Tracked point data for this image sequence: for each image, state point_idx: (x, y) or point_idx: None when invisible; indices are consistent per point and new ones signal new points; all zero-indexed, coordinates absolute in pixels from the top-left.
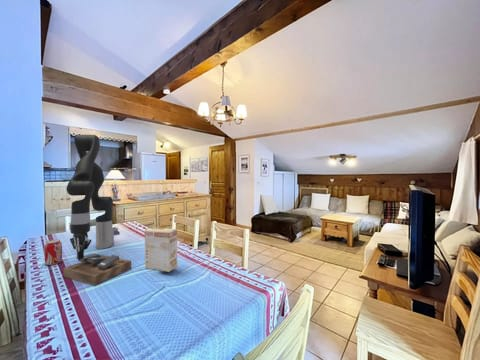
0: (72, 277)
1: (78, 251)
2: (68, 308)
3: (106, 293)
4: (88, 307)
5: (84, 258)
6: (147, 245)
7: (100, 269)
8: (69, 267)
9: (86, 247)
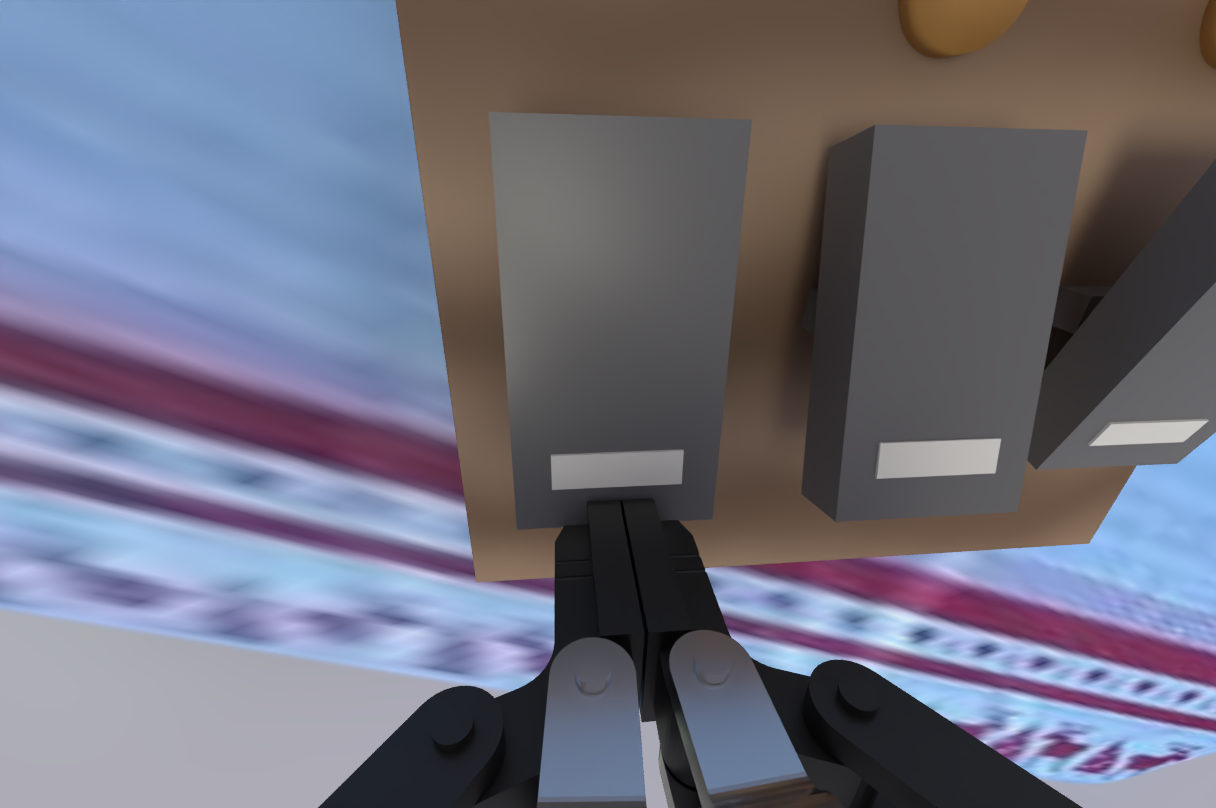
0: None
1: (650, 715)
2: (1024, 665)
3: (1183, 503)
4: (1144, 621)
5: (708, 505)
6: None
7: None
8: (532, 547)
9: (915, 748)
